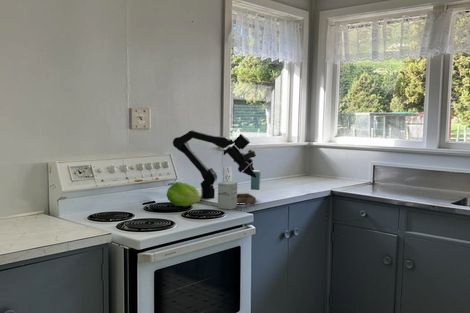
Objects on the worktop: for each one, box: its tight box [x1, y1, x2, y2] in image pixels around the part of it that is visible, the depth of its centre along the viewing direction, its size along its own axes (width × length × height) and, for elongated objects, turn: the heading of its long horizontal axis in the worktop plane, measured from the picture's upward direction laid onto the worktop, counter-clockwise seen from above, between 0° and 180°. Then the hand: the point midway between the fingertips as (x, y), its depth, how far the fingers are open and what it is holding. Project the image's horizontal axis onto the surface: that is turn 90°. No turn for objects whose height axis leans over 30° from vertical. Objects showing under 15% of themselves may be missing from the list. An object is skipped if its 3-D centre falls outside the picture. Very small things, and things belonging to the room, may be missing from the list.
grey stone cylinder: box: [217, 180, 238, 210], centre depth 231 cm, size 7×7×13 cm
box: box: [237, 192, 257, 204], centre depth 246 cm, size 13×13×3 cm
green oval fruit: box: [166, 181, 202, 207], centre depth 232 cm, size 14×20×12 cm
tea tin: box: [250, 169, 262, 191], centre depth 252 cm, size 4×4×10 cm
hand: (256, 176), depth 252 cm, fingers closed on tea tin, 4 cm apart
